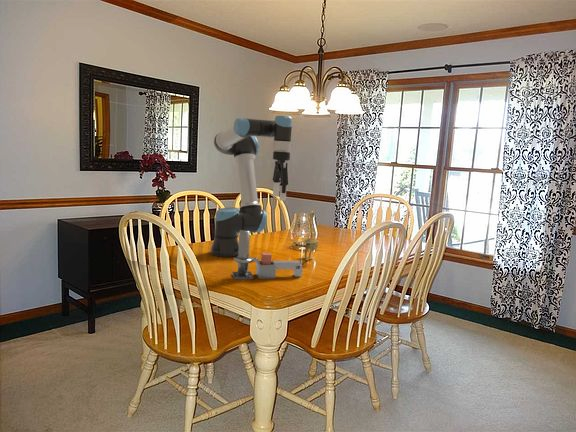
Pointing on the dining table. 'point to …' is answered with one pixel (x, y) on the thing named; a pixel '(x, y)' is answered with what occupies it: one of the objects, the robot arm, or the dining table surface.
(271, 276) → the bracket
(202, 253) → the dining table surface
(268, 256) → the wedge pin
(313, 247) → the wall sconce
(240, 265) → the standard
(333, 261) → the dining table surface
